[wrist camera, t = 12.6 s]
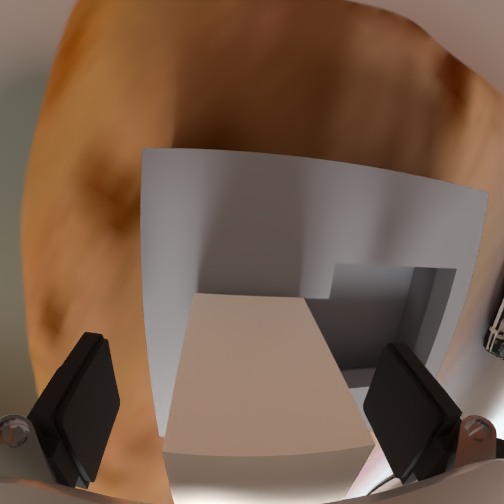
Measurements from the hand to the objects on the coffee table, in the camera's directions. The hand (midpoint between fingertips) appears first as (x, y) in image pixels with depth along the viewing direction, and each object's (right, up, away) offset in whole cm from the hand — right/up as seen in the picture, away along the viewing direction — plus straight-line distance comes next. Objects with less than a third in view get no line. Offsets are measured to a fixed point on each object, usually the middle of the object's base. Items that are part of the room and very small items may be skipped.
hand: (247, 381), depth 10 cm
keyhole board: (+3, +2, +8) cm, 9 cm away
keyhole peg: (0, +2, +7) cm, 7 cm away
